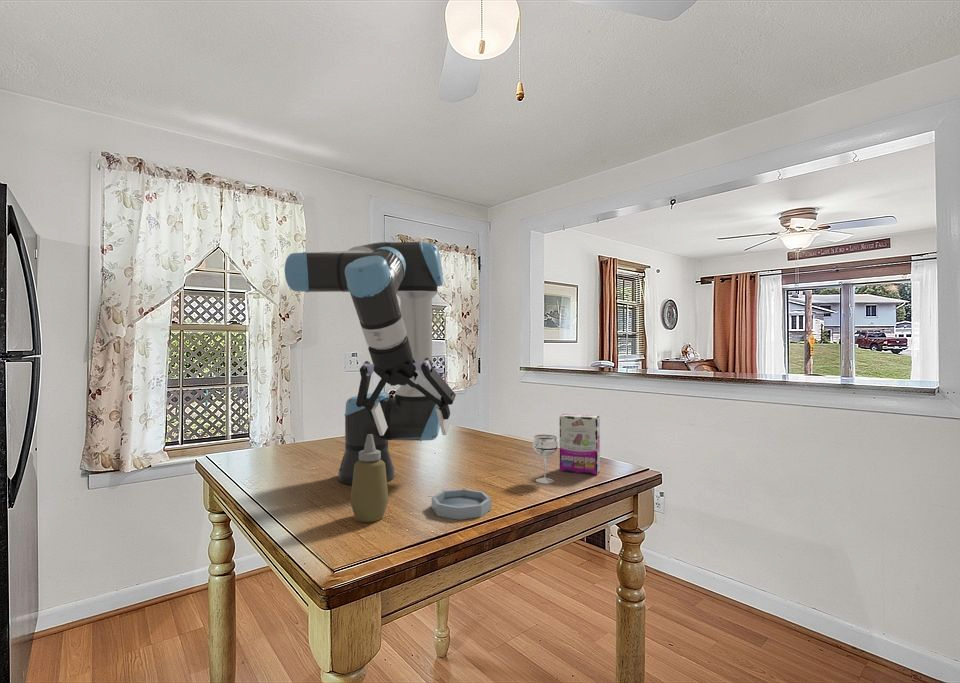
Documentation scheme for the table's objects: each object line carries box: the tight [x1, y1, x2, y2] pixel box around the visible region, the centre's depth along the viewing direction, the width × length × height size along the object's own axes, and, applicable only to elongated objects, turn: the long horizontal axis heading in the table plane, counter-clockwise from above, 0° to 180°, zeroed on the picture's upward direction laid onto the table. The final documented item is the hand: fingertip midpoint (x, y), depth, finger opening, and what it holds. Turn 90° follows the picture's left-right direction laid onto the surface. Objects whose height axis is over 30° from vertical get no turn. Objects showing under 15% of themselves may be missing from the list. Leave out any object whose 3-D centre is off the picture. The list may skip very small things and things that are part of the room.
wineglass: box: [532, 434, 559, 484], centre depth 135 cm, size 7×7×12 cm
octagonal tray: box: [431, 488, 492, 521], centre depth 113 cm, size 13×13×2 cm
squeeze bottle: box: [349, 434, 389, 523], centre depth 106 cm, size 8×8×18 cm
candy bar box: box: [559, 413, 601, 475], centre depth 145 cm, size 11×5×16 cm, turn 68°
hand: (414, 431), depth 101 cm, fingers open, 13 cm apart
